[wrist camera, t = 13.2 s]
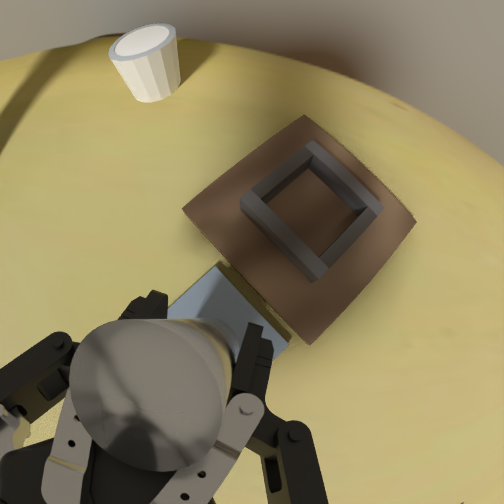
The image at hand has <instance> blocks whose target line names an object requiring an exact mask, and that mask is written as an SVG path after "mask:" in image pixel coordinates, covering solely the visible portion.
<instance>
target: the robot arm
mask: <svg viewBox="0 0 504 504" xmlns="http://www.w3.org/2000/svg"><path fill="white" fill-rule="evenodd" d="M167 316H168V295H167V294H164V293H161V292H158V291H156V290H152V291H151V292H150V293H149V295H148V296H147V297H146V298H144V297H141V296H140V297H138V298H136V299H135V300H133V301H131V303H130V304H129V305H128V306H127V308H126V310H124V312H123V313H122V314H121V316H120V317H119V318H118V320H123V319H167ZM263 328H264V326H261V325H257V324H254V323H251V322H249V323H248V326H247V329H246V332H245V335H244V338H243V341H242V344H241V347H240V350H239V354H238V357H237V360H236V363H235V367H234V371H233V376H232V381H231V387H230V391H229V395H228V399H227V404H226V408H225V412H224V416H223V420H222V424H221V428H220V432H219V435H218V437H217V439H216V442H215V443H214V445H213V446H212V448H211V449H210V451H209V452H208V453H207V454H206V455H205V456H204V457H203V458H201V459H200V460H199V461H197V462H196V463H194V464H192V465H190V466H188V467H185V468H182V469H179V470H174V471H166V472H157V471H148V470H143V469H139V468H136V467H133V466H130V465H128V464H126V463H123V462H121V461H120V460H118V459H116V458H114V457H113V456H111V455H110V454H109V453H107V452H106V451H105V450H104V449H102V448H101V447H100V446H99V445H98V444H97V443H96V442H95V441H94V440H93V439H92V438H91V436H90V435H89V434H88V432H87V431H86V430H85V428H84V427H83V425H82V423H81V422H79V421H80V420H79V418H78V416H77V414H76V411H75V408H74V406H73V402H72V398H71V394H70V386H69V374H70V367H71V363H72V359H73V356H74V354H75V352H76V349H77V348H78V346H79V344H80V343H78V342H72V339H71V337H70V336H69V335H68V334H67V333H65V332H54V333H52V334H51V335H49V336H48V337H46V338H45V339H43V340H42V341H40V342H39V343H37V344H36V345H34V346H33V347H31V348H30V349H28V350H27V351H25V352H24V353H23V354H21V355H20V356H18V357H17V358H15V359H14V360H13V361H11V362H10V363H8V364H7V365H5V366H4V367H3V368H1V369H0V504H216V503H215V501H214V499H213V495H214V494H215V492H216V491H217V490H218V488H219V487H220V485H221V484H222V482H223V481H224V479H225V478H226V476H227V475H228V473H229V472H230V470H231V469H232V467H233V466H234V464H235V462H236V461H237V459H238V457H239V455H240V453H241V452H242V450H243V448H244V447H246V448H248V449H250V450H251V451H253V452H255V453H257V454H258V455H260V458H261V464H262V470H263V476H264V482H265V488H266V494H267V499H268V504H328V499H327V495H326V491H325V487H324V483H323V479H322V475H321V471H320V467H319V463H318V459H317V455H316V451H315V447H314V443H313V439H312V435H311V431H310V429H309V428H308V427H307V426H306V425H305V424H304V423H302V422H300V421H295V420H291V421H287V422H286V421H284V420H283V419H281V418H279V417H277V416H276V415H274V414H273V413H272V412H270V410H269V409H268V408H267V406H266V403H265V394H266V389H267V384H268V380H269V375H270V369H271V364H272V359H273V354H274V348H273V344H272V341H271V340H268V339H265V338H261V337H262V332H263ZM63 398H65V399H64V403H63V406H62V410H61V413H60V417H59V421H58V425H57V429H56V433H55V437H54V438H51V439H48V440H45V441H42V442H39V443H36V444H33V445H29V446H26V447H23V444H24V441H25V439H26V438H28V437H30V434H31V432H30V424H31V423H33V422H34V421H35V420H37V419H38V418H39V417H40V416H42V415H43V414H44V413H46V412H47V411H48V410H49V409H51V408H52V407H53V406H55V405H56V404H57V403H58V402H60V401H61V400H62V399H63Z"/></svg>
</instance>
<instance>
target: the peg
mask: <svg viewBox="0 0 504 504" xmlns="http://www.w3.org/2000/svg"><path fill="white" fill-rule="evenodd" d="M238 353H239V343H238V339H237V336H236V334H235V332H234V331H233V329H232V328H231V327H230V326H229V325H228V324H226V323H225V322H223V321H221V320H219V319H215V318H186V319H123V320H116V321H112V322H108V323H106V324H103V325H101V326H99V327H97V328H96V329H94V330H93V331H91V332H90V333H89V334H88V335H87V336H86V337H85V338H84V339H83V340H82V342H81V343H80V344H79V346H78V348H77V349H76V352H75V354H74V356H73V359H72V363H71V367H70V374H69V386H70V394H71V398H72V402H73V406H74V408H75V411H76V414H77V416H78V418H79V420H80V422H81V423H82V425H83V427H84V428H85V430H86V431H87V432H88V434H89V435H90V436H91V438H92V439H93V440H94V441H95V442H96V443H97V444H98V445H99V446H100V447H101V448H102V449H104V450H105V451H106V452H107V453H109V454H110V455H111V456H113V457H114V458H116V459H118V460H120V461H121V462H123V463H126V464H128V465H130V466H133V467H136V468H139V469H143V470H148V471H157V472H166V471H174V470H179V469H182V468H185V467H188V466H190V465H192V464H194V463H196V462H197V461H199V460H200V459H201V458H203V457H204V456H205V455H206V454H207V453H208V452H209V451H210V449H211V448H212V446H213V445H214V443H215V442H216V439H217V437H218V435H219V432H220V428H221V424H222V420H223V416H224V412H225V408H226V404H227V399H228V395H229V391H230V387H231V381H232V376H233V371H234V367H235V363H236V360H237V357H238Z"/></svg>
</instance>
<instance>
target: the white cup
mask: <svg viewBox="0 0 504 504" xmlns="http://www.w3.org/2000/svg"><path fill="white" fill-rule="evenodd" d="M108 55H109V57H110V58H111V60H112V62H113V63H114V65H115V67H116V68H117V70H118V71H119V73H120V75H121V76H122V78H123V79H124V81H125V83H126V84H127V86H128V87H129V89H130V90H131V92H132V94H133V95H134V97H135V98H136V100H138V101H141V102H155V101H159V100H162V99H164V98H166V97H168V96H170V95H171V94H172V93H173V92H174V91H176V90H177V89H178V87H179V85H180V83H181V78H180V69H179V60H178V50H177V40H176V31H175V28H174V27H173V26H172V25H170V24H165V23H155V24H148V25H144V26H141V27H138V28H136V29H134V30H131V31H129V32H127V33H125V34H124V35H123V36H121V37H120V38H118V39H117V40H116V41H115V42H114V43H113V45H112V46H111V47H110V49H109V53H108Z"/></svg>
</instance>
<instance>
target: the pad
mask: <svg viewBox="0 0 504 504" xmlns="http://www.w3.org/2000/svg"><path fill="white" fill-rule="evenodd" d="M186 318H215V319H219V320H221V321H223V322H225V323H226V324H228V325H229V326H230V327H231V328H232V329H233V331H234V332H235V334H236V336H237V339H238V343H239V350H240V347H241V344H242V341H243V338H244V335H245V332H246V329H247V326H248V323H249V322H251V323H254V324H257V325H261V326H264V328H263V332H262V337H261V338H265V339H268V340H271V341H272V344H273V348H274V354H273V359H272V360H274V359H275V358H276V357H277V356H278V355H279V354H280V353H281V352H282V351H283V350H284V349H285V348H286V347H288V346H289V344H288V342H287V341H286V340H285V339H284V338H283V337H282V336H281V335H280V334H279V333H278V332H277V331H276V330H275V329H274V328H273V327H272V326H271V325H270V324H269V323H268V322H267V321H266V320H265V319H264V318H263V317H262V316H261V314H260V313H259V312H258V311H257V310H256V309H255V308H254V307H253V306H252V305H251V304H250V303H249V302H248V301H247V300H246V299H245V298H244V296H243V295H242V294H241V293H240V292H239V291H238V290H237V289H236V288H235V287H234V286H233V285H232V284H231V282H230V281H229V280H228V279H227V278H226V277H225V276H224V275H223V274H222V273H221V272H220V271H219V269H218V268H217V267H216V266H214V267H213V268H212V269H211V270H210V271H209V272H208V273H206V274H205V275H204V276H203V277H202V278H201V279H200V280H199V281H198V282H197V283H195V284H194V285H193V286H192V287H191V288H190V289H189V290H188V291H187V292H186V293H184V294H183V295H182V296H181V297H180V298H179V299H178V300H177V301H176V302H175V303H174V304H172V305H171V306H170V307H169V308H168V316H167V319H186ZM238 354H239V353H238Z"/></svg>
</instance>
